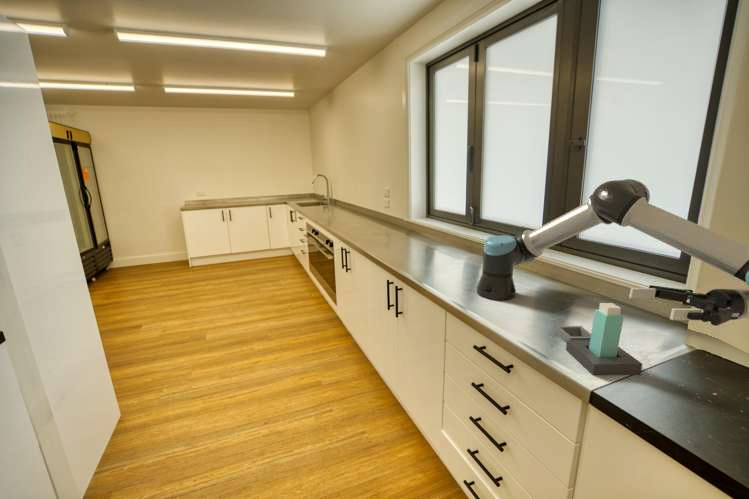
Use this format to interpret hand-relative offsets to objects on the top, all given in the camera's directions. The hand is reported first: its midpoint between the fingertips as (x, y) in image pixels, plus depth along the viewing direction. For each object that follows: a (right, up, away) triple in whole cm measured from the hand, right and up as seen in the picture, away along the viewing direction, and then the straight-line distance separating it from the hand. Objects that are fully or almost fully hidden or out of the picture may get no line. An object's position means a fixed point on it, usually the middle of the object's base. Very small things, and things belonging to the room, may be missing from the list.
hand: (649, 302), depth 89 cm
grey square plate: (-11, -13, +14) cm, 22 cm away
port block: (-11, -16, +2) cm, 20 cm away
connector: (-11, -16, +2) cm, 20 cm away
